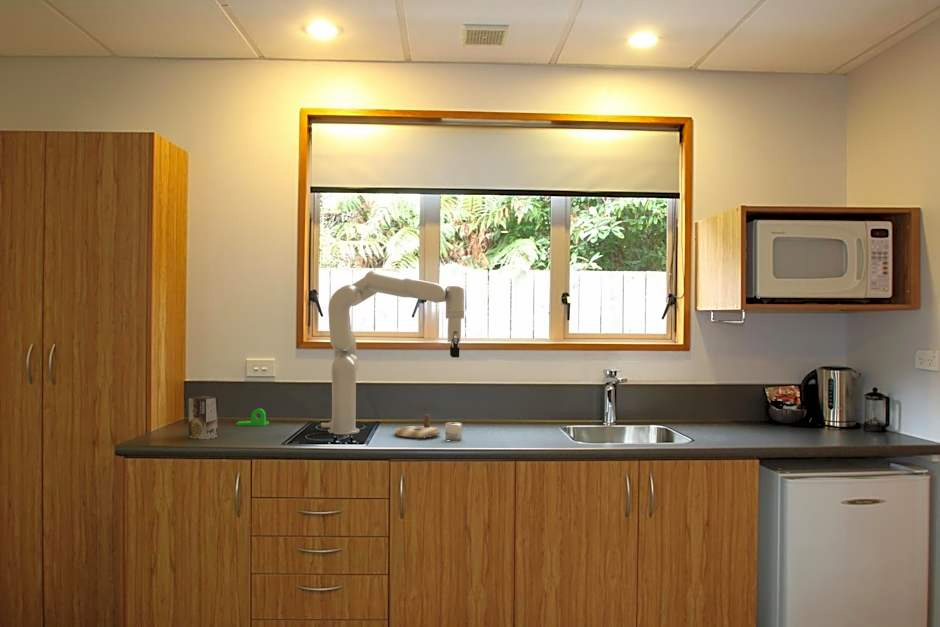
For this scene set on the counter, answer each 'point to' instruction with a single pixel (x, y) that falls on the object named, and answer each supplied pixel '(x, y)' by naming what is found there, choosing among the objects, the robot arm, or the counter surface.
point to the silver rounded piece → (453, 431)
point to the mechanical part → (256, 419)
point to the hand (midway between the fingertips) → (454, 356)
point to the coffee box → (203, 417)
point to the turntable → (418, 429)
